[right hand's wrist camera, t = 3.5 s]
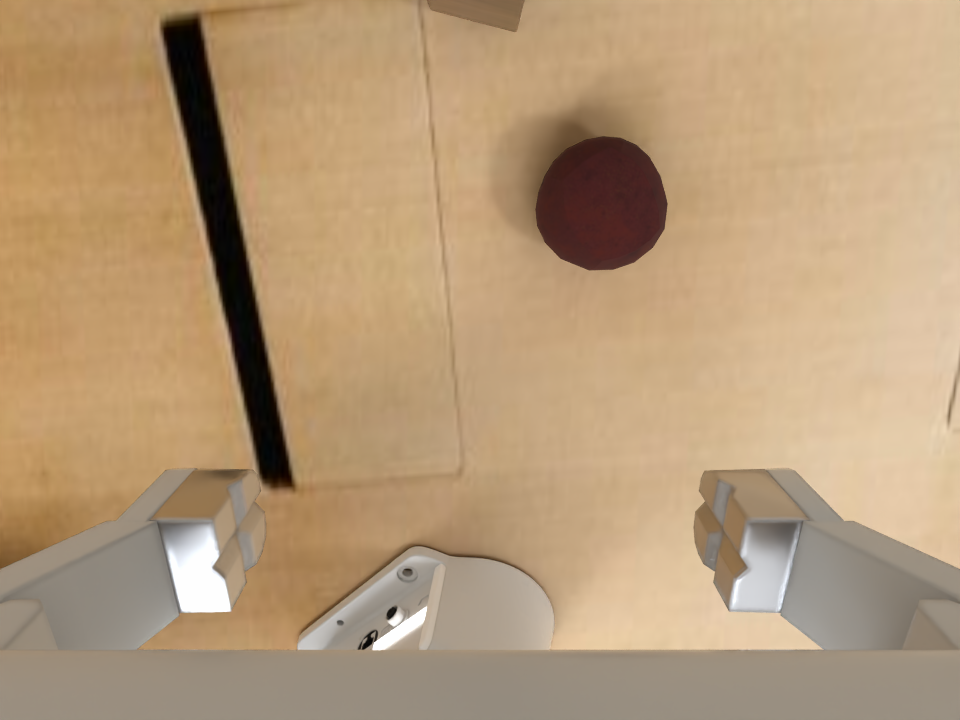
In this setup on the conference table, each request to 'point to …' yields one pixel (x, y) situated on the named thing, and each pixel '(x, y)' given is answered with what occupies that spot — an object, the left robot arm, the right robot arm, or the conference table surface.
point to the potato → (601, 204)
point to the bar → (483, 11)
